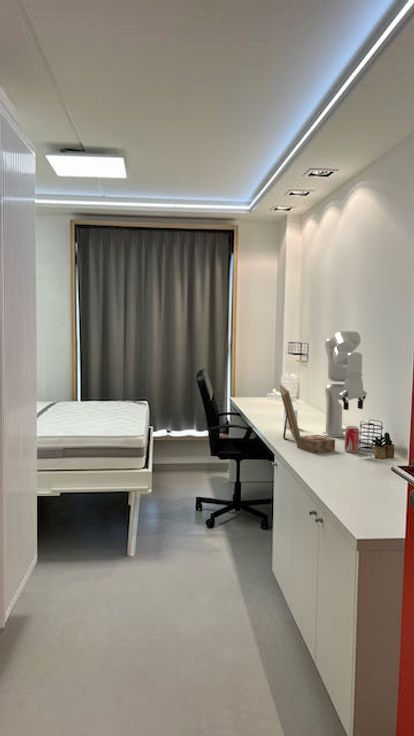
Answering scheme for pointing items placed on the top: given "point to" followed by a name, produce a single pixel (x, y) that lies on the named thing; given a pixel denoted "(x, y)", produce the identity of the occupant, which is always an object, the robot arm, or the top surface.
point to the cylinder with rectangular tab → (287, 419)
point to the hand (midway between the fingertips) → (353, 409)
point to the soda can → (351, 439)
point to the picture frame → (289, 413)
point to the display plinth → (316, 443)
